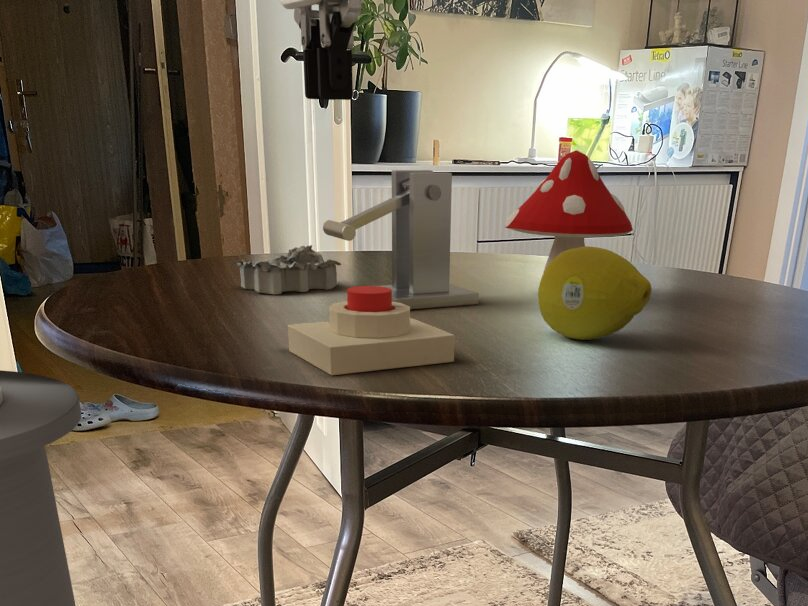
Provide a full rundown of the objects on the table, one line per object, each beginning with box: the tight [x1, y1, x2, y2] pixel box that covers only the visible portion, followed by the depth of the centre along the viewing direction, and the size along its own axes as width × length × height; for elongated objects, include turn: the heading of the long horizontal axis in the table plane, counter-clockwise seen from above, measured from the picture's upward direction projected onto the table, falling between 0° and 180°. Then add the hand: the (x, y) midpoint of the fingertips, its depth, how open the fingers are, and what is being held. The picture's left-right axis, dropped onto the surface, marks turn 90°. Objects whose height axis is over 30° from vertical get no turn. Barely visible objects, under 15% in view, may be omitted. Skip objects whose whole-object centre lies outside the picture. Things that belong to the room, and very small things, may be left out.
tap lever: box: [322, 180, 410, 242], centre depth 93 cm, size 12×5×2 cm, turn 120°
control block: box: [287, 300, 456, 376], centre depth 75 cm, size 11×9×4 cm
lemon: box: [537, 245, 652, 341], centre depth 82 cm, size 11×8×8 cm
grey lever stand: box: [379, 169, 480, 311], centre depth 96 cm, size 10×8×13 cm
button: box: [346, 285, 392, 312], centre depth 74 cm, size 4×4×2 cm
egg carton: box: [233, 244, 342, 295], centre depth 104 cm, size 11×8×4 cm
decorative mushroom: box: [504, 149, 634, 274], centre depth 101 cm, size 14×14×15 cm
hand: (328, 97), depth 86 cm, fingers closed
